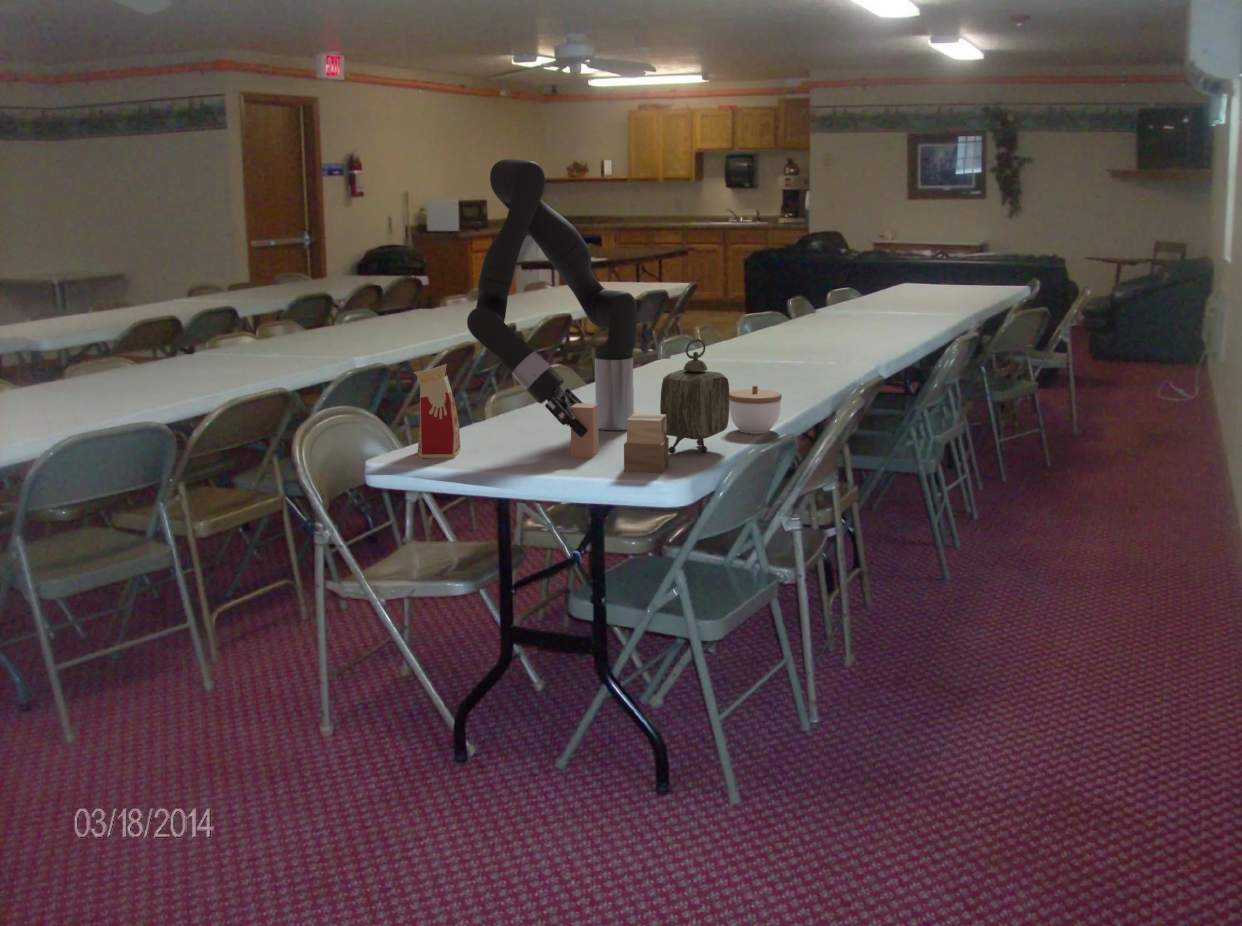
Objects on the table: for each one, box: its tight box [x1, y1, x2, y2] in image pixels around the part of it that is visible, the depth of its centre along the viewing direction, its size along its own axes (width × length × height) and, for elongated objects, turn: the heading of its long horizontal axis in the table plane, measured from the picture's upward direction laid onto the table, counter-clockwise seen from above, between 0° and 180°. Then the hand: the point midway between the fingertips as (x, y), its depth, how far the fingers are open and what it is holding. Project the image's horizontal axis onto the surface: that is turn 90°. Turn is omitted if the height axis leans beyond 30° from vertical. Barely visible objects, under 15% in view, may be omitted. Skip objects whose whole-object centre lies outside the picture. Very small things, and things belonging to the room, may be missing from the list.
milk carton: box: [413, 363, 462, 459], centre depth 265 cm, size 9×9×20 cm
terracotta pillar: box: [570, 402, 600, 458], centre depth 264 cm, size 5×5×11 cm
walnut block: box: [623, 437, 670, 474], centre depth 251 cm, size 8×8×6 cm
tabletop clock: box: [659, 338, 730, 454], centre depth 264 cm, size 14×9×25 cm, turn 141°
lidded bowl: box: [729, 384, 782, 435], centre depth 288 cm, size 13×13×11 cm
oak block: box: [626, 412, 668, 445], centre depth 250 cm, size 7×7×5 cm
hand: (589, 430), depth 264 cm, fingers open, 8 cm apart
